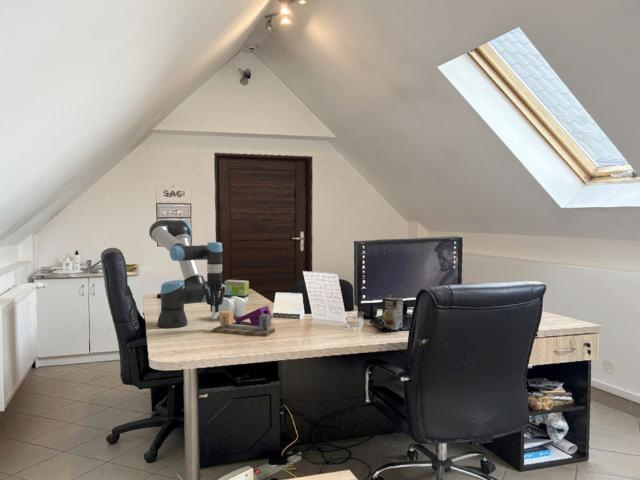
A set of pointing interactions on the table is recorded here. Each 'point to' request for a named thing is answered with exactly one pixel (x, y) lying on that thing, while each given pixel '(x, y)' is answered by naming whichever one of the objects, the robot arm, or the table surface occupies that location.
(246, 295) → the tea box
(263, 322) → the rail and fixed leg
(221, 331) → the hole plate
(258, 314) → the mounting bracket
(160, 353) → the table surface
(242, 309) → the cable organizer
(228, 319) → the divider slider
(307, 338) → the table surface
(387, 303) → the coffee box
